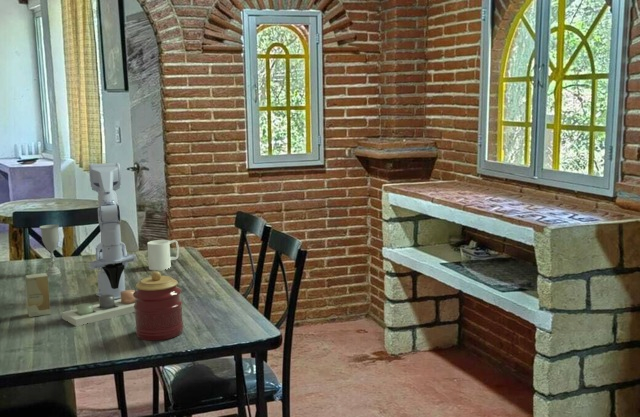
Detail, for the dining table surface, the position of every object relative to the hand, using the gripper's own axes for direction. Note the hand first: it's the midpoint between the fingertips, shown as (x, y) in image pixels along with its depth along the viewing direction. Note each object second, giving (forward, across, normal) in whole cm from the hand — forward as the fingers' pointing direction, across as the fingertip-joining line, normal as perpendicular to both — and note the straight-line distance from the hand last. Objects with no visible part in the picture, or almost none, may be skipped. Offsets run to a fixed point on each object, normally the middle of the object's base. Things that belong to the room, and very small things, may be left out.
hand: (114, 288), depth 217 cm
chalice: (+8, +4, +62) cm, 63 cm away
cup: (+8, +38, +40) cm, 56 cm away
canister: (+8, 0, -28) cm, 29 cm away
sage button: (+6, -10, 0) cm, 12 cm away
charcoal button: (+5, -3, 0) cm, 6 cm away
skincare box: (+8, -18, +15) cm, 25 cm away
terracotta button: (+5, +4, 0) cm, 7 cm away
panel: (+7, -3, 0) cm, 8 cm away
